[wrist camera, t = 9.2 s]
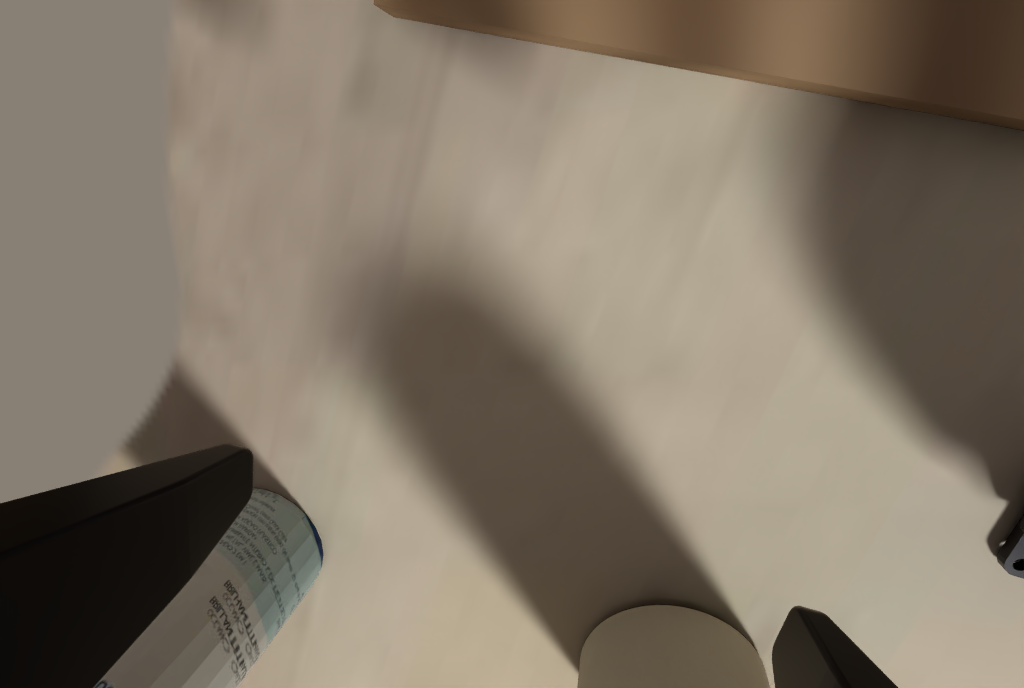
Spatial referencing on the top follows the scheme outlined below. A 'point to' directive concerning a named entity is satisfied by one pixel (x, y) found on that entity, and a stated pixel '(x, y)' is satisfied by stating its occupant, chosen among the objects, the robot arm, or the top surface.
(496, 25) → the shelf board
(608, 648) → the travel mug
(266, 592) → the spray paint can
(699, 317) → the top surface
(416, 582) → the top surface
